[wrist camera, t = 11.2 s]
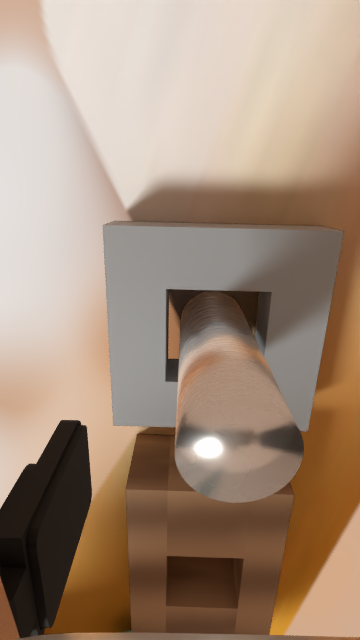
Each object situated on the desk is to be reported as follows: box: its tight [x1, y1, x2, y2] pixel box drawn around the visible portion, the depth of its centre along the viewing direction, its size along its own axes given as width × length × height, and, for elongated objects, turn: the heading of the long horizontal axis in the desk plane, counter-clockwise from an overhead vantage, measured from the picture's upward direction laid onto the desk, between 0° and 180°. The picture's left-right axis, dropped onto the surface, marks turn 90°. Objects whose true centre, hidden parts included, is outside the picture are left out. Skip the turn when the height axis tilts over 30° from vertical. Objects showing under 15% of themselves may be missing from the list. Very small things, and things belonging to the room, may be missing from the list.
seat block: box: [103, 221, 344, 431], centre depth 21 cm, size 12×12×3 cm
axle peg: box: [175, 291, 304, 503], centre depth 16 cm, size 4×4×12 cm
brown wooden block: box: [126, 434, 294, 635], centre depth 25 cm, size 16×10×5 cm, turn 179°
